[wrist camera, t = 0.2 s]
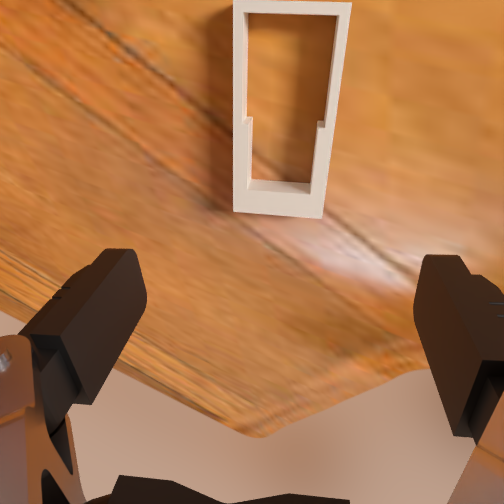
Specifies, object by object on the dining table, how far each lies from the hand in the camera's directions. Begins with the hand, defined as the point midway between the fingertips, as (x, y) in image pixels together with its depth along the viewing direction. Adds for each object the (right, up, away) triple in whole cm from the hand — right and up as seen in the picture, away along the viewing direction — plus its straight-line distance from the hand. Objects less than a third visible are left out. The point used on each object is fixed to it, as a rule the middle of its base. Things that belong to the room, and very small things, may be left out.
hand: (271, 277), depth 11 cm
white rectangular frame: (+3, +14, +25) cm, 28 cm away
